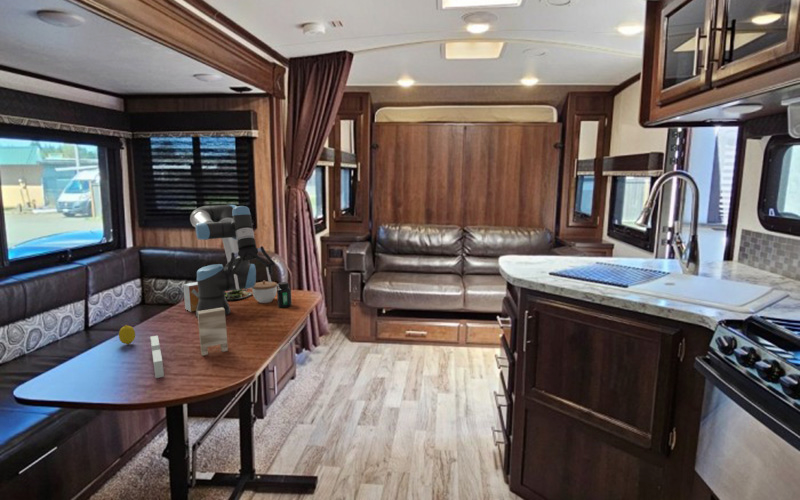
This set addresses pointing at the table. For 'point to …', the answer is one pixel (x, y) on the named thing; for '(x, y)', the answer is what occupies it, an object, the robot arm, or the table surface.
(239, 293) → the salad plate
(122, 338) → the lemon
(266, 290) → the lidded bowl
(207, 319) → the slotted tab
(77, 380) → the table surface
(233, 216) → the robot arm
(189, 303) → the small box
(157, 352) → the notched board
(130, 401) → the table surface
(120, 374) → the table surface
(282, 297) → the supplement bottle
